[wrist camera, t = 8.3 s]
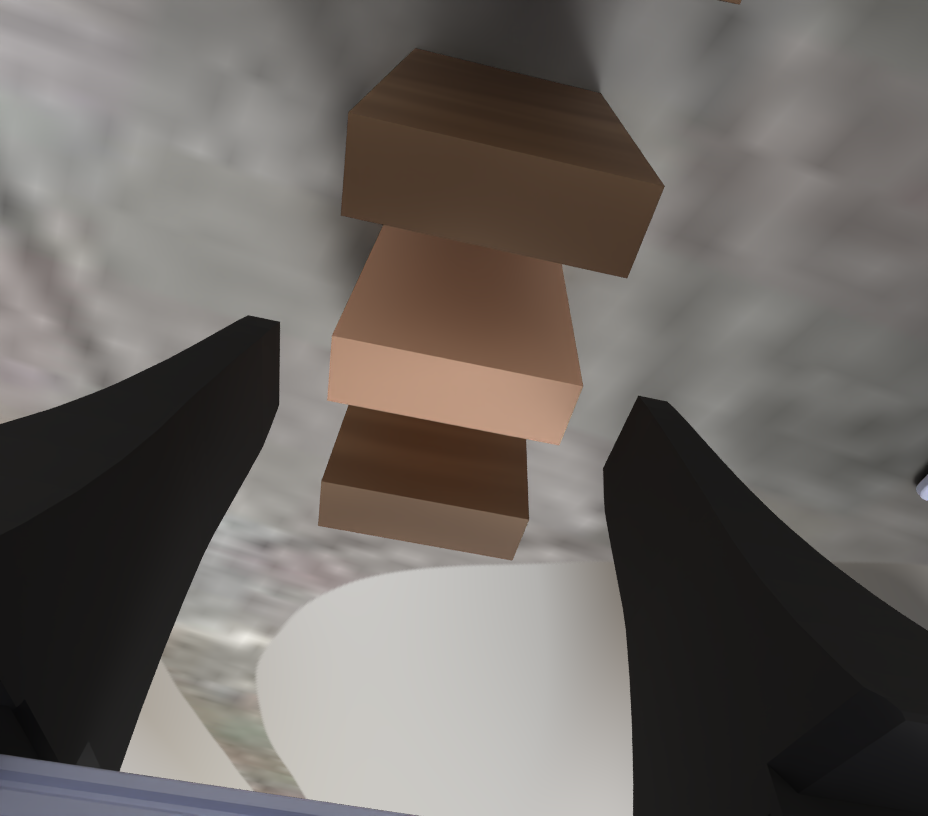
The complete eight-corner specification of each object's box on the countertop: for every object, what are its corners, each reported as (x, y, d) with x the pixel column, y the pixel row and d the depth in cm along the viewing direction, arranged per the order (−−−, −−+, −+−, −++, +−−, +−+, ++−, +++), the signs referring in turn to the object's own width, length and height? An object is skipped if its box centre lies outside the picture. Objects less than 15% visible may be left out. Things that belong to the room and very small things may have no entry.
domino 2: (395, 199, 18) (332, 335, 11) (556, 235, 18) (583, 386, 12) (388, 249, 19) (327, 400, 12) (541, 282, 19) (559, 445, 13)
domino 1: (414, 47, 15) (348, 112, 9) (600, 93, 16) (664, 186, 9) (406, 114, 16) (341, 215, 10) (581, 155, 16) (627, 278, 10)
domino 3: (380, 315, 20) (321, 481, 14) (522, 345, 20) (529, 519, 14) (375, 354, 21) (318, 525, 15) (511, 381, 21) (512, 560, 15)
